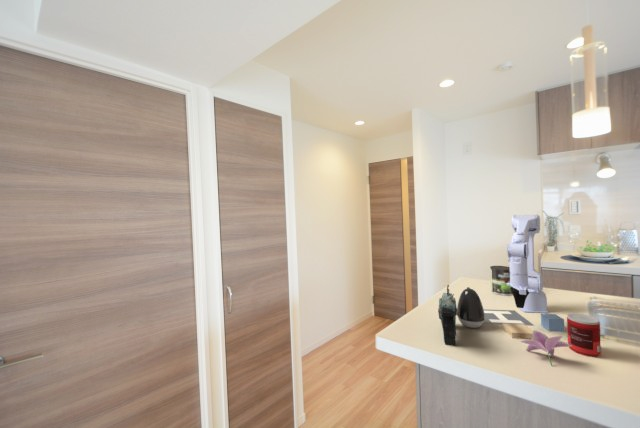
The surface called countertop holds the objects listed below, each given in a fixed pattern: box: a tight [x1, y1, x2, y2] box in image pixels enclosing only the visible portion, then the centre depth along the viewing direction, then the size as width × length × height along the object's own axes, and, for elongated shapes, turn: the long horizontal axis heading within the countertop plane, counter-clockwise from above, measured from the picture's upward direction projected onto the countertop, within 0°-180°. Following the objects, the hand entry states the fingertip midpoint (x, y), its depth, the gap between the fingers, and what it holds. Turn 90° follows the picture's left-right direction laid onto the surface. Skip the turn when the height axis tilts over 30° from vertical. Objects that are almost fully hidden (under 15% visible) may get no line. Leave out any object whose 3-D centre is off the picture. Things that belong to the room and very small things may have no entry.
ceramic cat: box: [437, 284, 457, 347], centre depth 101 cm, size 20×6×20 cm, turn 154°
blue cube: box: [540, 313, 565, 333], centre depth 102 cm, size 5×5×5 cm
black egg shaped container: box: [456, 287, 485, 329], centre depth 108 cm, size 10×10×15 cm
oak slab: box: [501, 323, 534, 340], centre depth 99 cm, size 8×8×2 cm
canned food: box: [566, 312, 602, 358], centre depth 86 cm, size 8×8×11 cm
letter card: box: [483, 308, 536, 327], centre depth 115 cm, size 18×16×1 cm
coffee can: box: [489, 265, 513, 296], centre depth 146 cm, size 10×10×14 cm
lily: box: [520, 329, 572, 367], centre depth 82 cm, size 12×12×10 cm
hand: (519, 307), depth 104 cm, fingers closed
